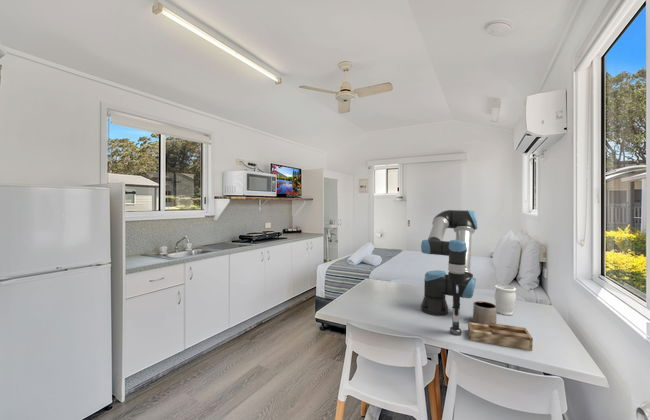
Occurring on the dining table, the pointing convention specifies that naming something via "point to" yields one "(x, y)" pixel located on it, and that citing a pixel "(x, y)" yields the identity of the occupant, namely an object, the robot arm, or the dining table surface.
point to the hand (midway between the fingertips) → (455, 319)
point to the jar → (505, 299)
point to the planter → (484, 312)
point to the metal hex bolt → (455, 327)
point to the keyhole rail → (499, 340)
